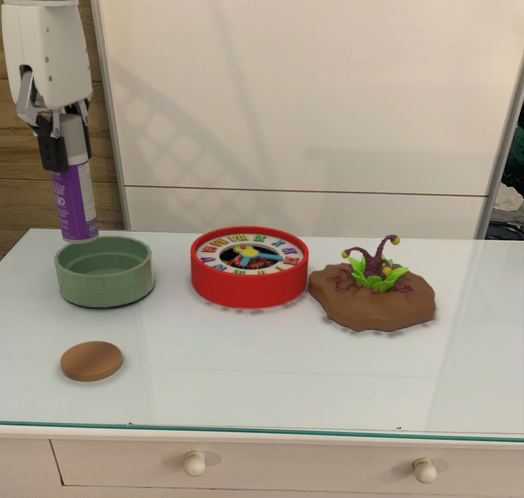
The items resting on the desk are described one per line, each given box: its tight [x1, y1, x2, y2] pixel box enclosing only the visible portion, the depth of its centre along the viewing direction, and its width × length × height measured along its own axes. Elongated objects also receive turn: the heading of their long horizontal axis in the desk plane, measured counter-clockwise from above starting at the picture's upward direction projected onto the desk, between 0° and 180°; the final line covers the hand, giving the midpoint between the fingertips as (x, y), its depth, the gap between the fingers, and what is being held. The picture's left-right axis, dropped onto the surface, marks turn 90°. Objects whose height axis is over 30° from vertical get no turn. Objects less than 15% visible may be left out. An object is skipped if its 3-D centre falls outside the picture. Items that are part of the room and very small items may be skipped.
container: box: [43, 112, 100, 244], centre depth 70 cm, size 5×5×15 cm
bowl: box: [53, 235, 155, 308], centre depth 91 cm, size 15×15×6 cm
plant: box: [307, 234, 437, 332], centre depth 90 cm, size 20×20×11 cm
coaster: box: [59, 340, 123, 382], centre depth 75 cm, size 8×8×1 cm
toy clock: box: [189, 225, 310, 310], centre depth 95 cm, size 20×6×20 cm
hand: (68, 162), depth 68 cm, fingers closed on container, 4 cm apart
